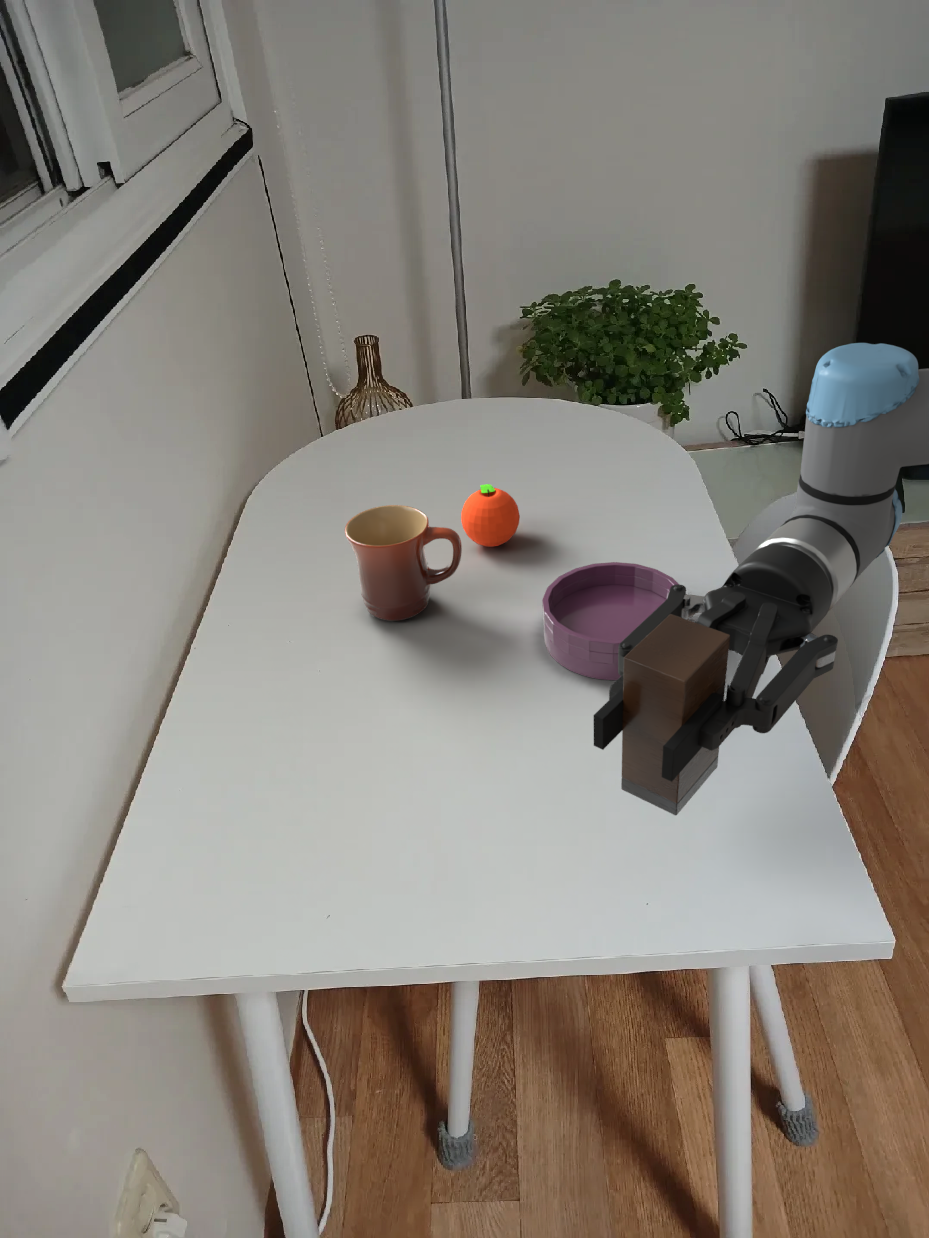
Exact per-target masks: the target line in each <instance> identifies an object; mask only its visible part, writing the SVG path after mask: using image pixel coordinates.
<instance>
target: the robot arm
mask: <svg viewBox="0 0 929 1238" xmlns="http://www.w3.org/2000/svg"><path fill="white" fill-rule="evenodd" d="M805 416H806V417H805V427H804V436H803V437H804V438H803V444H802V445H803V446H802V453H801V454H802V456H801V462H800V463H801V464H800V471H799V476H798V477H799V478H798V481H797V489H796V496H795V497H796V498H795V502H794V509H793V512H792V514H791V515H790V516H789V517H788V518H787V519H786V520H785V521H784V523H783V524H782V525H780V526H779V527H778V528H777V529H775V530H774V531H773V532H772V533H771V534H770V535H769V536H768V537H767V538H766V539H765V540H763V541H762V543H761V544H759V545H758V546H757V547H756V548H755V549H754V550H753V552H752V553H750V554H749V556H747V557H746V558H745V559H744V560H743V561H742V562H741V563H740V564H739V565H738V566H736V568H735V569H734V570H733V571H732V572H731V573H730V574H729V576H728V577H727V579H726V580H725V582H724V583H723V585H721V586H720V587H718V588H716V589H713V590H709V591H708V592H707V593H706V594H705V595H696V594H687V587H686V586H685V585H683V584H680V583H678V584H676V585H673V586H671V588H670V591H669V594H668V598H667V600H666V601H665V602H663V603H662V604H661V605H660V606H659V607H658V608H657V609H656V610H655V611H654V612H653V613H652V614H651V615H650V616H649V617H647V618H646V619H645V620H644V621H643V622H642V623H641V624H640V625H639V626H638V627H637V628H636V629H635V630H634V631H632V632H631V633H630V634H629V635H628V636H627V637H626V638H625V639H624V640H623V641H622V642H621V643H620V644H619V646H618V674H619V675H620V676H621V677H620V678H619V679H617V680H615V681H614V682H613V683H612V684H611V685H610V687H609V690H608V701H606V703H604V704H603V705H602V706H601V707H600V708H599V709H598V710H597V711H596V712H595V713H594V714H593V747H595V748H598V749H600V750H602V751H604V750H605V749H606V747H607V746H609V745H610V744H611V742H613V741H614V740H615V739H616V738H617V737H618V736H619V734H621V733H622V728H623V674H624V657H625V656H626V655H627V654H628V653H629V652H630V651H631V650H632V649H633V648H634V647H636V646H637V645H638V644H639V643H640V642H641V641H642V640H643V639H644V638H645V637H646V636H647V635H648V634H649V633H651V632H652V631H653V630H654V629H655V628H656V627H657V626H658V625H659V624H660V623H661V622H662V621H663V620H664V619H666V618H667V617H668V616H669V615H670V614H672V615H675V616H678V617H681V618H684V619H686V620H689V621H690V619H691V618H693V617H694V616H695V615H696V614H699V615H698V617H697V619H696V621H695V623H698V624H701V625H703V626H706V627H709V628H712V629H715V630H718V631H720V632H723V633H726V634H729V635H730V641H729V651H733V652H735V653H737V654H739V655H740V656H741V659H740V661H739V663H738V666H737V667H736V670H735V671H734V672H735V673H734V674H733V677H732V680H731V682H730V684H727V685H726V686H727V687H726V695H725V698H724V702H723V696H722V695H720V694H717V693H715V692H713V693H712V694H711V695H710V696H709V697H708V698H707V699H706V700H705V702H704V703H703V704H702V705H701V706H700V707H699V708H698V709H697V710H696V711H695V712H694V713H693V715H692V716H691V717H690V718H689V719H688V720H687V721H686V722H685V723H684V724H683V725H682V726H681V727H680V728H679V729H678V730H677V732H676V733H675V734H674V735H673V736H672V737H671V738H670V739H669V740H668V741H667V742H666V744H665V745H664V746H663V759H662V778H665V779H667V780H669V781H671V782H672V781H673V780H674V779H675V778H676V777H677V775H678V774H679V773H680V772H681V771H682V770H683V769H684V767H685V766H686V765H687V764H688V763H689V762H690V761H691V759H692V758H693V757H694V756H695V755H696V754H697V753H698V751H699V750H700V749H701V748H702V747H704V748H706V749H708V750H711V751H712V750H714V749H717V748H718V747H719V748H720V746H721V745H722V744H723V743H724V742H725V740H727V738H728V737H729V736H730V735H731V733H732V732H733V731H734V730H735V729H739V728H740V727H741V726H748V727H749V726H750V727H752V729H753V731H754V732H756V733H759V734H767V733H769V732H770V731H771V730H772V729H773V728H774V727H775V726H776V724H778V722H779V721H780V720H781V718H782V717H783V716H784V715H785V714H786V713H787V711H788V710H789V709H790V708H791V707H792V706H793V704H794V703H795V702H796V701H797V699H798V698H799V697H800V696H801V695H802V694H803V692H805V690H806V688H807V687H809V685H810V684H811V683H812V681H814V679H816V678H818V677H821V676H822V675H824V674H826V673H828V672H830V671H832V670H833V669H834V665H835V660H836V654H837V648H838V643H839V640H838V637H836V636H835V635H833V634H822V635H821V636H818V635H816V634H814V633H813V631H814V630H815V629H816V627H817V626H818V625H819V624H820V623H821V622H822V621H823V619H825V617H826V616H827V615H828V613H829V612H830V611H831V610H832V608H834V606H835V605H836V604H837V603H838V602H839V600H841V598H842V597H843V596H844V594H845V593H846V592H847V591H848V590H849V589H850V588H851V587H852V585H853V584H854V583H855V582H856V580H857V579H858V578H859V577H860V576H861V575H862V573H864V571H865V570H866V569H867V568H868V567H869V566H870V565H871V564H872V563H873V561H875V560H876V559H877V558H879V557H880V555H882V554H883V553H884V552H885V550H886V548H887V547H888V546H889V545H890V544H891V543H892V541H893V538H894V536H895V534H896V533H897V531H898V529H899V527H900V525H901V522H902V518H903V505H902V502H901V499H900V496H899V494H898V491H897V490H896V486H897V481H898V477H899V473H900V470H901V469H902V467H903V468H904V467H911V466H912V467H913V466H921V465H922V466H923V465H929V368H920V369H919V362H918V359H917V357H916V356H915V355H914V354H913V353H912V352H910V351H909V350H907V349H905V348H903V347H900V346H896V345H893V344H887V343H881V342H880V343H875V344H874V343H868V342H855V343H854V342H853V343H848V344H844V345H840V346H836V347H835V348H831V349H830V350H828V351H827V352H826V353H824V354H823V355H822V356H821V357H820V359H818V362H817V364H816V367H815V370H814V374H813V378H812V380H811V386H810V391H809V396H808V401H807V404H806V409H805ZM794 651H796V652H795V653H794V654H793V655H792V656H791V657H790V659H789V660H788V661H787V662H786V663H785V664H784V666H782V668H780V670H779V671H778V672H777V673H776V675H775V676H774V677H772V679H771V680H770V681H769V682H768V683H767V684H766V686H765V687H764V688H763V689H762V690H761V691H760V692H759V693H758V695H756V697H755V698H754V694H755V691H756V689H757V687H758V684H759V681H760V679H761V676H762V675H764V674H765V673H764V672H765V670H766V668H767V665H768V662H769V659H771V657H772V656H776V655H781V654H785V653H789V652H794Z"/></svg>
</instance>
